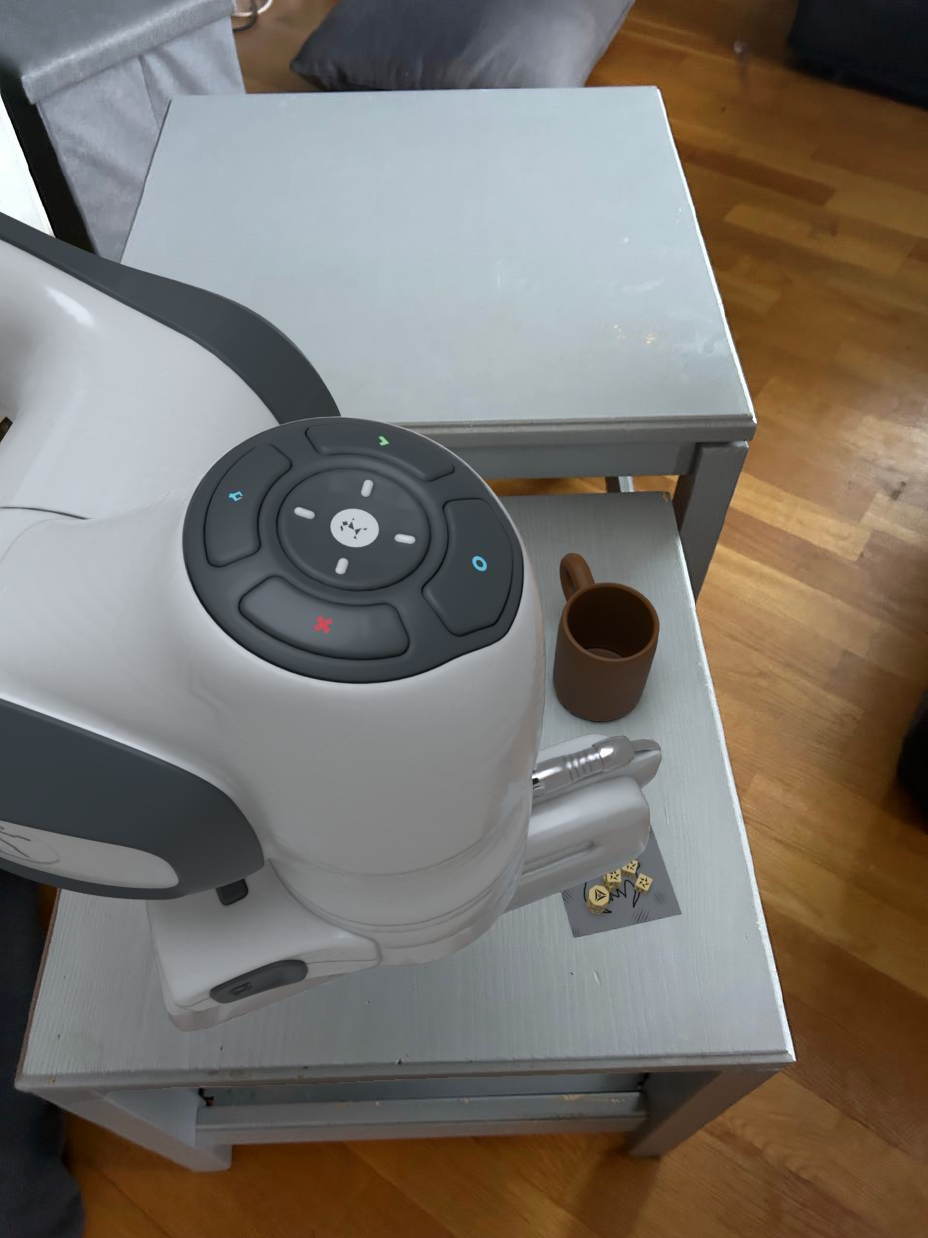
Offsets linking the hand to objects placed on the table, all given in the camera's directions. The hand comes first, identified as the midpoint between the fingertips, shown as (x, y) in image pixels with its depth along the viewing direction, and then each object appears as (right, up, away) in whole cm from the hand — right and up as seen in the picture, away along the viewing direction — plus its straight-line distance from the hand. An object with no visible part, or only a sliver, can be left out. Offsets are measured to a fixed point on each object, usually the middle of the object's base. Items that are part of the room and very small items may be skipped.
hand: (418, 938), depth 44 cm
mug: (+12, +11, +36) cm, 39 cm away
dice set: (+13, -4, +26) cm, 29 cm away
